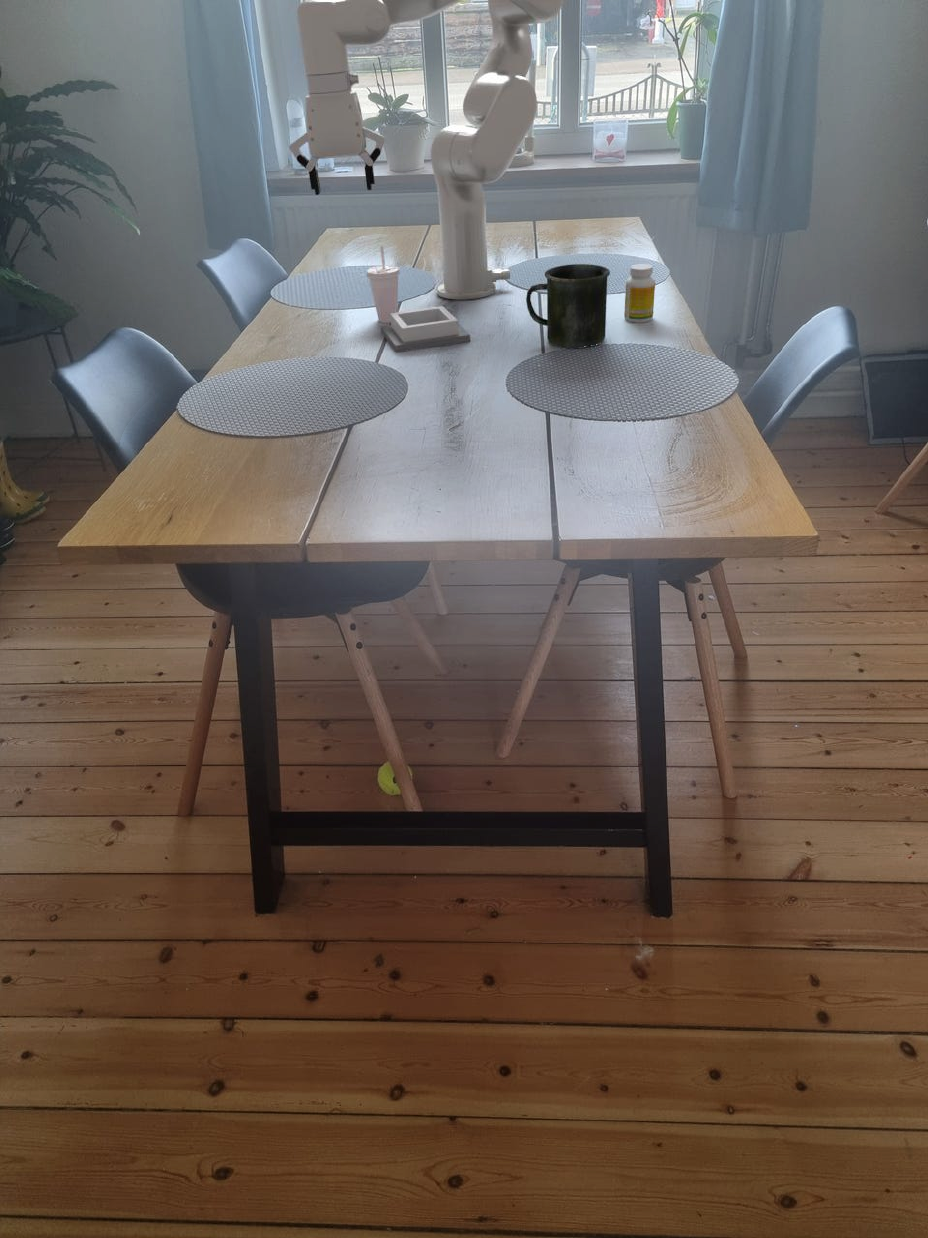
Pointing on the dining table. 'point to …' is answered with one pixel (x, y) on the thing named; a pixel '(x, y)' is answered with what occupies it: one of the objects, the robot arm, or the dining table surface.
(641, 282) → the supplement bottle
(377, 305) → the smoothie
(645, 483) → the dining table surface
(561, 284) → the mug
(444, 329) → the dock
